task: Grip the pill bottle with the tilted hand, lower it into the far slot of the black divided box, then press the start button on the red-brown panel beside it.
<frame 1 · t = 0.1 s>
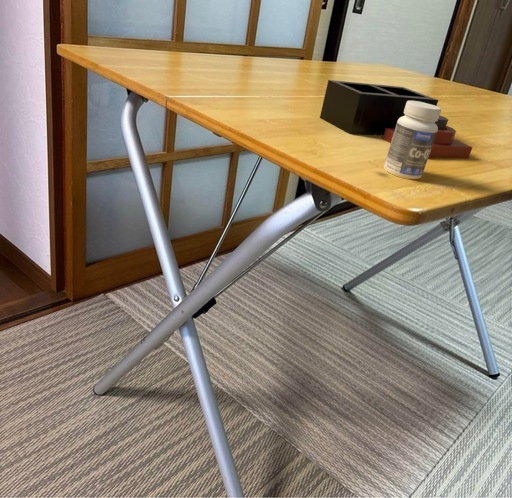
black divided box: (373, 127, 83), on the table
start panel: (425, 148, 76), on the table
start button: (433, 122, 74), point 4 cm above the table, slide at 0.1 cm
pill bottle: (401, 174, 63), on the table
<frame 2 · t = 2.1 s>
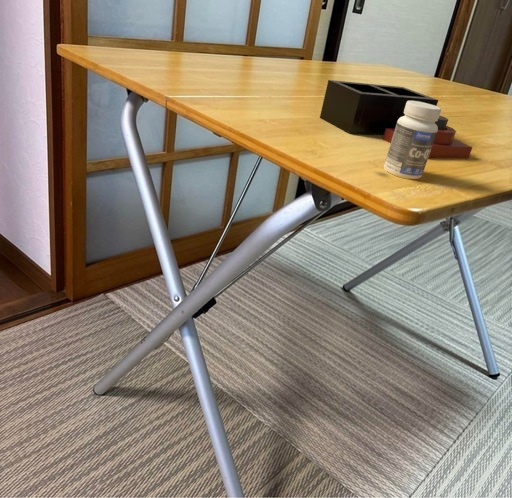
nothing on the table moved.
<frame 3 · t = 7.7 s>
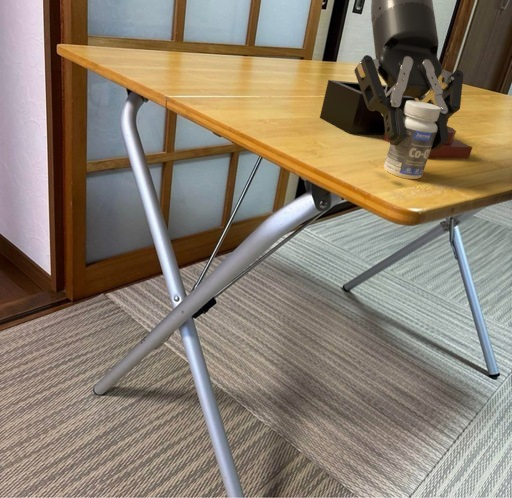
hand: (418, 143, 60), 4 cm above the table, tool tilted 45°, fingers closed on pill bottle, 4 cm apart
pill bottle: (401, 174, 63), on the table, touching gripper
everything else where it was.
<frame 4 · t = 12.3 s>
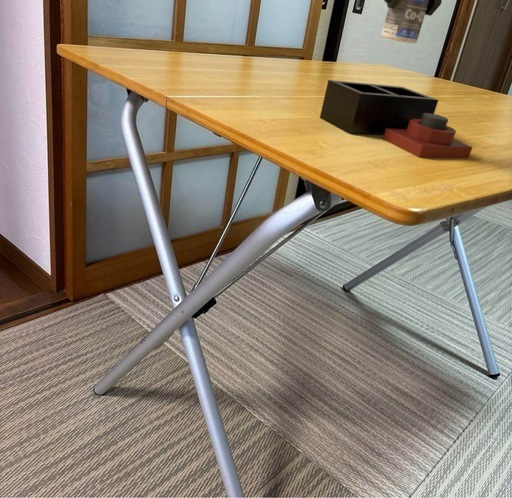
hand: (413, 6, 64), 18 cm above the table, tool tilted 45°, fingers closed on pill bottle, 4 cm apart
pill bottle: (398, 41, 68), point 14 cm above the table, touching gripper
everything else where it was.
when the fingers open (7 cm above the table, at t = 17.0 s): pill bottle drops 3 cm, resting in black divided box.
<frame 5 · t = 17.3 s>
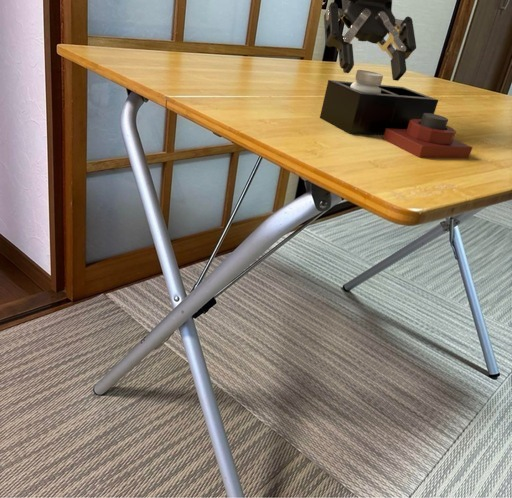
hand: (374, 73, 76), 8 cm above the table, tool tilted 45°, fingers open, 7 cm apart
pill bottle: (355, 128, 81), resting in black divided box
everything else where it was.
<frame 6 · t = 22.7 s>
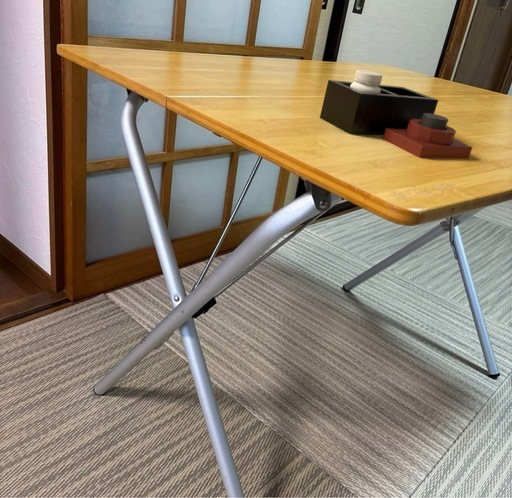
hand: (471, 3, 68), 20 cm above the table, tool pointing down, fingers open, 8 cm apart
nothing on the table moved.
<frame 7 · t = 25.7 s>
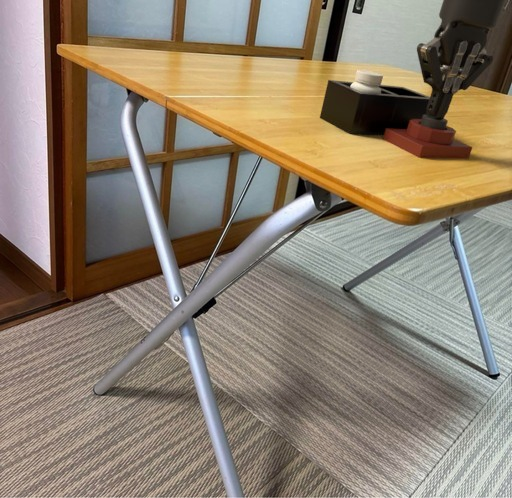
hand: (434, 117, 74), 5 cm above the table, tool pointing down, fingers closed
start button: (433, 123, 74), point 4 cm above the table, slide at -0.1 cm, touching gripper
everything else where it was.
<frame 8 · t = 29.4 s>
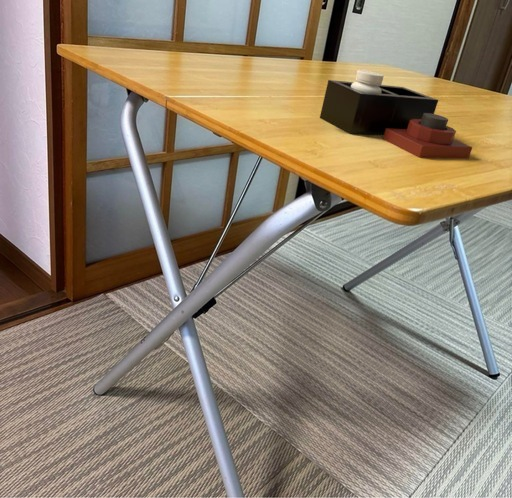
start button: (433, 122, 74), point 4 cm above the table, slide at 0.1 cm
everything else where it was.
at the end: pill bottle 0.2 cm from the target spot in the black divided box, point 0.0 cm above the black divided box's base; start button pushed in 1.2 cm at the most during the clip, back to where it started at the end; start button slide at 0.1 cm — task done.
